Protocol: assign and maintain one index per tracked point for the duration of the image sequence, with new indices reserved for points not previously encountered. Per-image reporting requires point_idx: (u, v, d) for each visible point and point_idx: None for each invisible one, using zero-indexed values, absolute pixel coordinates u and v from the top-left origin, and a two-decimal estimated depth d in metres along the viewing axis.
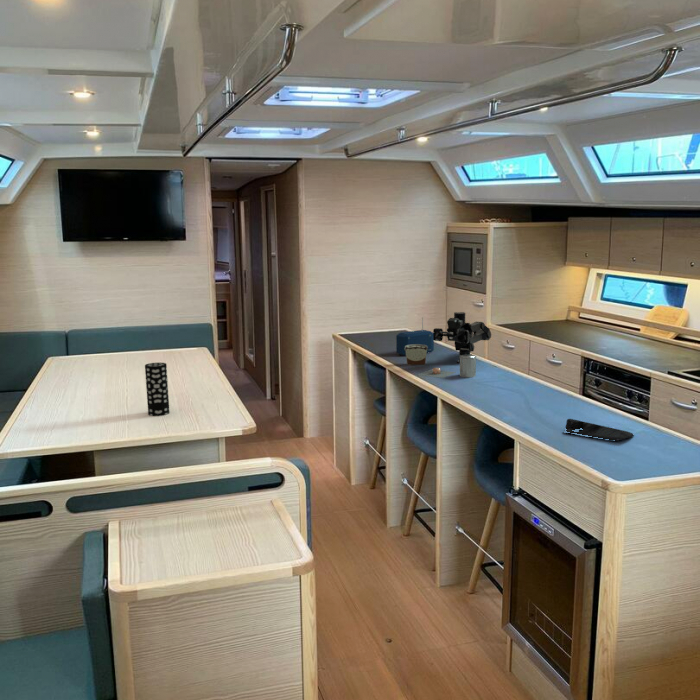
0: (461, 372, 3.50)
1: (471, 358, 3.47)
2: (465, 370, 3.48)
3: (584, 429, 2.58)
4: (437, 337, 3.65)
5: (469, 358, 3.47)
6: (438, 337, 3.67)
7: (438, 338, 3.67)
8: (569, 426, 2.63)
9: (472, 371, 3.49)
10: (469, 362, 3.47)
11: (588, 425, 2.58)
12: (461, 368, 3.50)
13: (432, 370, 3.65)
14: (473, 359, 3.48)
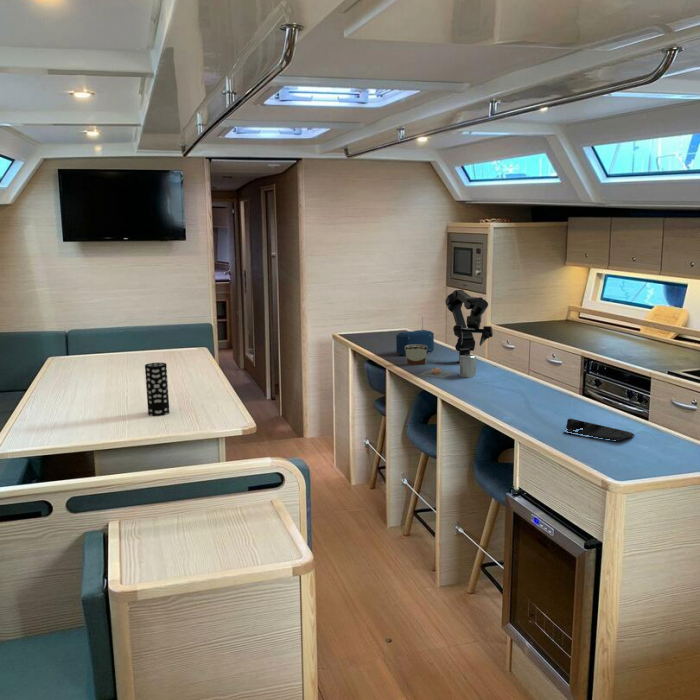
0: (461, 372, 3.50)
1: (471, 358, 3.47)
2: (465, 370, 3.48)
3: (584, 429, 2.58)
4: (462, 341, 3.60)
5: (469, 358, 3.47)
6: (462, 339, 3.61)
7: (462, 339, 3.62)
8: (570, 426, 2.63)
9: (472, 371, 3.49)
10: (469, 362, 3.47)
11: (588, 425, 2.58)
12: (461, 368, 3.50)
13: (432, 370, 3.65)
14: (473, 359, 3.48)
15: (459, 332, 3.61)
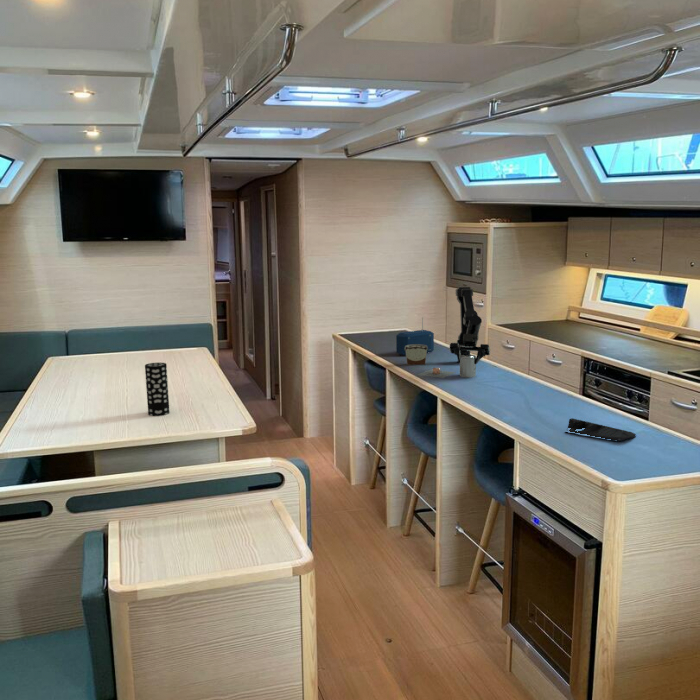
0: (461, 372, 3.50)
1: (471, 358, 3.47)
2: (465, 370, 3.48)
3: (586, 429, 2.58)
4: (459, 359, 3.52)
5: (469, 358, 3.47)
6: (459, 357, 3.54)
7: None
8: (571, 426, 2.64)
9: (472, 371, 3.49)
10: (469, 362, 3.47)
11: (590, 425, 2.58)
12: (461, 368, 3.50)
13: (432, 370, 3.65)
14: (473, 359, 3.48)
15: (457, 350, 3.53)
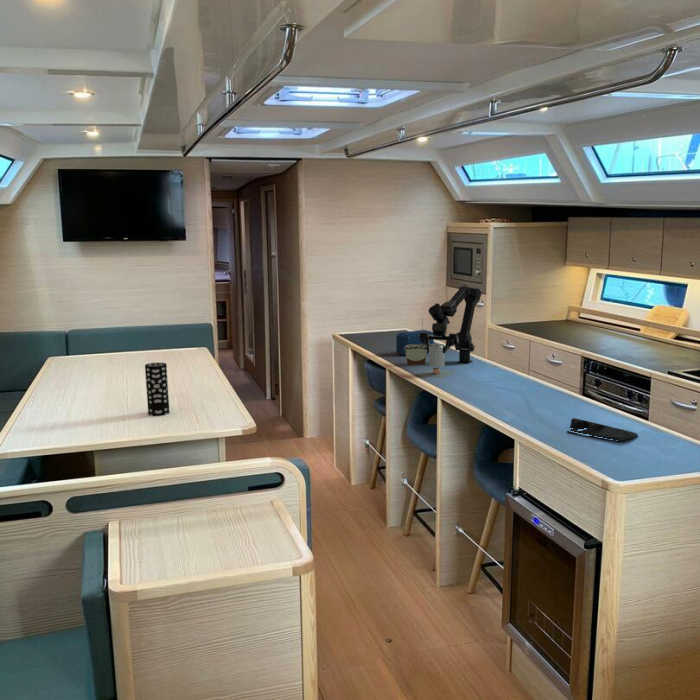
0: (430, 361, 3.55)
1: (439, 347, 3.52)
2: (434, 359, 3.53)
3: (588, 429, 2.58)
4: (428, 348, 3.57)
5: (437, 347, 3.52)
6: None
7: None
8: (573, 425, 2.64)
9: (441, 360, 3.53)
10: (438, 351, 3.52)
11: (592, 425, 2.59)
12: (430, 357, 3.55)
13: (432, 370, 3.65)
14: (441, 348, 3.52)
15: (426, 339, 3.58)
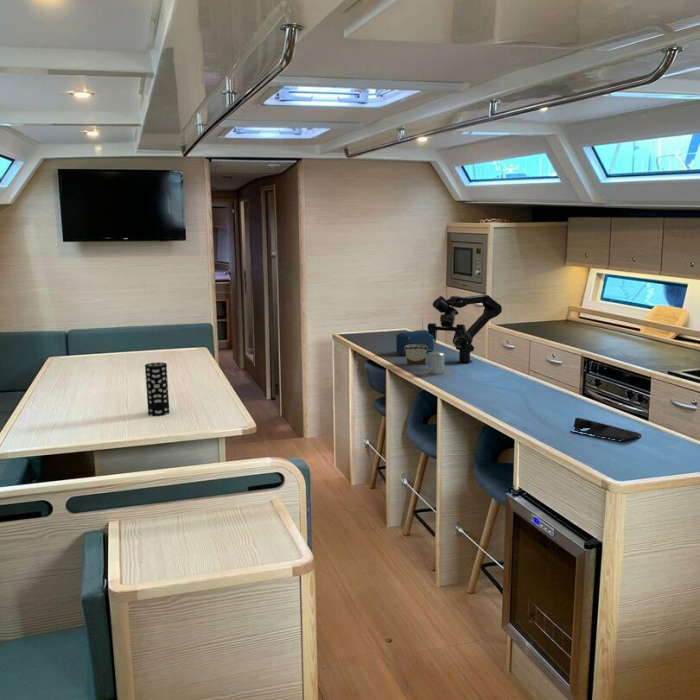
0: (430, 369, 3.56)
1: (439, 355, 3.53)
2: (434, 367, 3.54)
3: (591, 428, 2.59)
4: (435, 339, 3.69)
5: (437, 355, 3.52)
6: (436, 336, 3.70)
7: (436, 337, 3.70)
8: (577, 425, 2.64)
9: (441, 368, 3.54)
10: (437, 359, 3.53)
11: (595, 424, 2.59)
12: (430, 365, 3.55)
13: None
14: (441, 356, 3.53)
15: (433, 330, 3.69)
